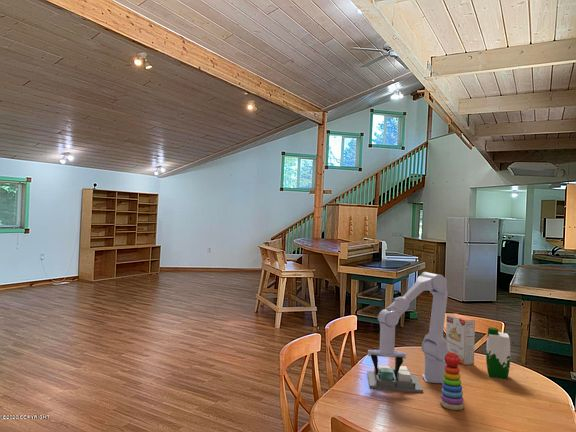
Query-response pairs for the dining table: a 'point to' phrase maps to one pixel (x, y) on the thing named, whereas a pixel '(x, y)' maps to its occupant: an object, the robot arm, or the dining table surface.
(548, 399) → the dining table surface
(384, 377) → the teal block
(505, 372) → the milk carton
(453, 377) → the stacking toy
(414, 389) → the puzzle board
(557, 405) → the dining table surface
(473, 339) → the cracker box
